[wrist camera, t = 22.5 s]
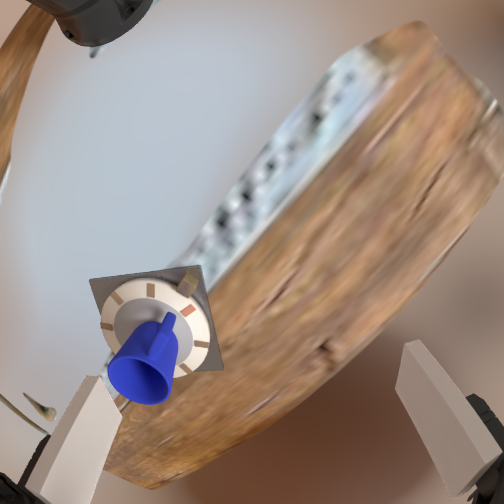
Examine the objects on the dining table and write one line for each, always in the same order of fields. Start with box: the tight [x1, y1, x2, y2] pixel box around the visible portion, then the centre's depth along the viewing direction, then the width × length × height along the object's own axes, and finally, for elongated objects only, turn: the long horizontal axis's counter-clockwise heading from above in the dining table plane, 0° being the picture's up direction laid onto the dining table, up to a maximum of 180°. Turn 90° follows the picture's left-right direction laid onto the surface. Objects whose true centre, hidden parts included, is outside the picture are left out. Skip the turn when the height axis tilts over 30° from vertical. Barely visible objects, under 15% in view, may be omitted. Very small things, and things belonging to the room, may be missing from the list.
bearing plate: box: [89, 265, 224, 372], centre depth 41 cm, size 18×18×3 cm
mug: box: [107, 312, 178, 405], centre depth 35 cm, size 8×12×10 cm
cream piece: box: [100, 278, 210, 378], centre depth 38 cm, size 17×17×8 cm
